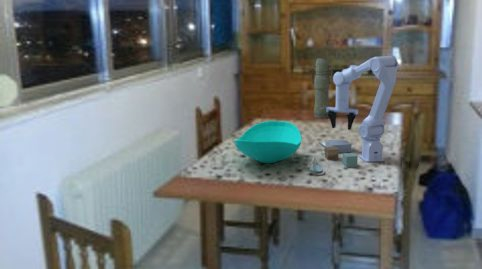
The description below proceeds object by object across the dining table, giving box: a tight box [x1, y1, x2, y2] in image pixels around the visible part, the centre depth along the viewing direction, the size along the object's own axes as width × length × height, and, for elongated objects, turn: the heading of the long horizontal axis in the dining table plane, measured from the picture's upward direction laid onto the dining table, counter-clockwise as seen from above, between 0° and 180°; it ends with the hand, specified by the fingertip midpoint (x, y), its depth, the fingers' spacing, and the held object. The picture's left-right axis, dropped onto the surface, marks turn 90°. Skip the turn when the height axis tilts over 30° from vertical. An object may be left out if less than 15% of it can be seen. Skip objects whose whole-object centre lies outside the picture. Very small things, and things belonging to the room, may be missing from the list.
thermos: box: [311, 56, 333, 119], centre depth 306 cm, size 9×12×35 cm
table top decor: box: [233, 120, 303, 164], centre depth 222 cm, size 40×28×13 cm
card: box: [318, 141, 326, 148], centre depth 247 cm, size 8×8×1 cm
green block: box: [342, 152, 359, 168], centre depth 213 cm, size 5×5×5 cm
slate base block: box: [324, 139, 352, 154], centre depth 237 cm, size 9×9×4 cm
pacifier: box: [308, 157, 326, 176], centre depth 204 cm, size 7×6×6 cm
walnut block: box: [324, 146, 339, 161], centre depth 224 cm, size 5×5×5 cm
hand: (341, 128), depth 236 cm, fingers open, 7 cm apart
